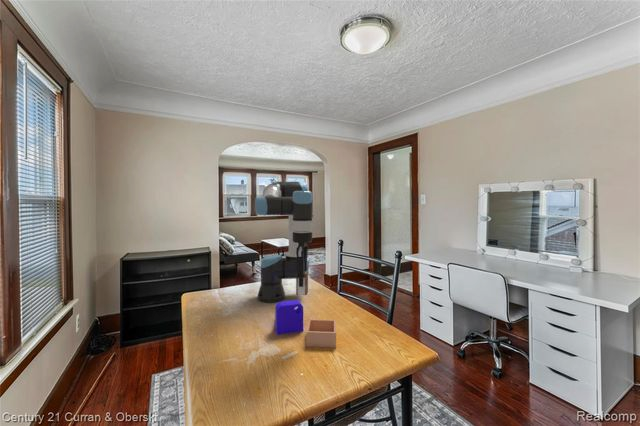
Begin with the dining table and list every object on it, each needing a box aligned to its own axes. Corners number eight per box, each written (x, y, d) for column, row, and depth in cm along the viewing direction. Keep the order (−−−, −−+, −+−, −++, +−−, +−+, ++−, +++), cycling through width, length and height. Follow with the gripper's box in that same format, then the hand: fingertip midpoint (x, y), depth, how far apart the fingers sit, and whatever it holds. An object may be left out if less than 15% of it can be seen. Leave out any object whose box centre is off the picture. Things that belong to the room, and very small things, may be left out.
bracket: (303, 331, 112) (303, 303, 111) (277, 335, 108) (277, 306, 108) (293, 314, 129) (293, 289, 128) (270, 317, 126) (270, 292, 125)
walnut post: (297, 291, 105) (297, 271, 105) (308, 291, 105) (308, 271, 105) (296, 294, 101) (296, 273, 101) (306, 295, 101) (306, 274, 101)
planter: (308, 332, 111) (308, 319, 110) (335, 333, 110) (335, 319, 110) (306, 346, 100) (306, 332, 100) (335, 347, 99) (336, 333, 99)
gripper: (296, 229, 111) (296, 285, 112) (288, 234, 94) (288, 300, 95) (314, 229, 111) (314, 286, 111) (309, 234, 94) (309, 300, 94)
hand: (302, 292), depth 103 cm, fingers closed on walnut post, 4 cm apart
